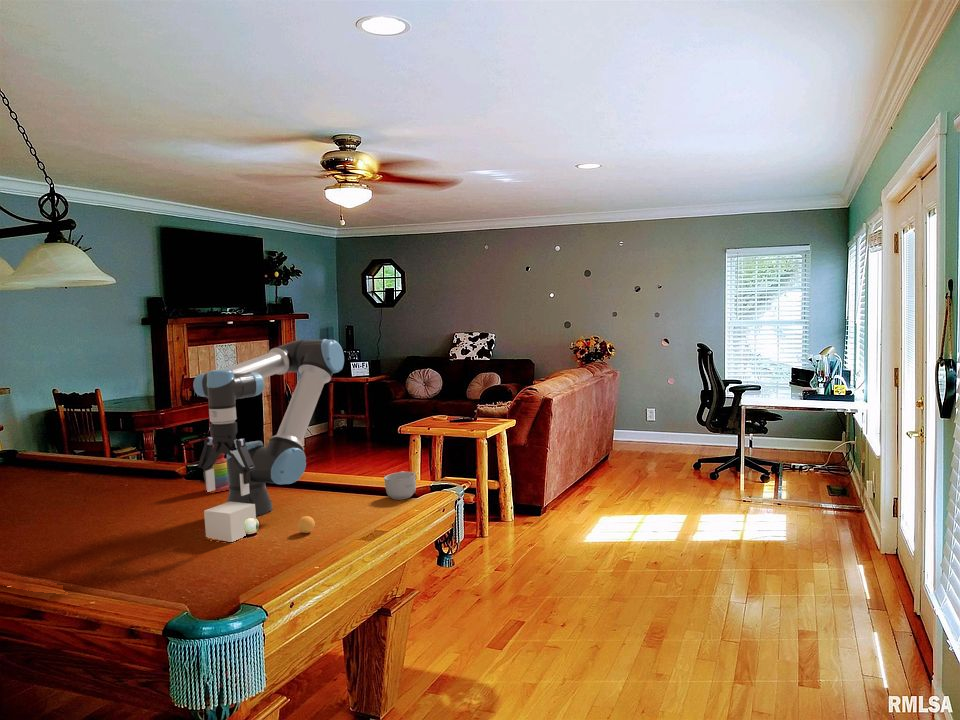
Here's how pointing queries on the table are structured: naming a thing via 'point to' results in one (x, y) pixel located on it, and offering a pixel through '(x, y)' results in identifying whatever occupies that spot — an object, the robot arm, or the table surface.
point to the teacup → (400, 485)
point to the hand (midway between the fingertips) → (227, 492)
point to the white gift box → (228, 520)
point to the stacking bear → (220, 473)
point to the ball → (306, 524)
